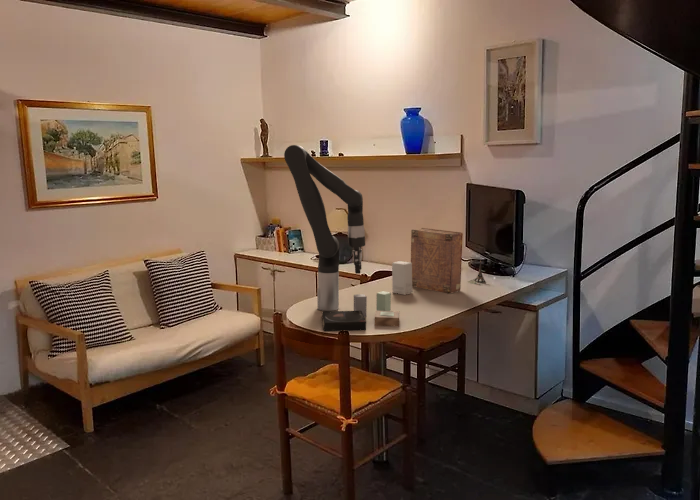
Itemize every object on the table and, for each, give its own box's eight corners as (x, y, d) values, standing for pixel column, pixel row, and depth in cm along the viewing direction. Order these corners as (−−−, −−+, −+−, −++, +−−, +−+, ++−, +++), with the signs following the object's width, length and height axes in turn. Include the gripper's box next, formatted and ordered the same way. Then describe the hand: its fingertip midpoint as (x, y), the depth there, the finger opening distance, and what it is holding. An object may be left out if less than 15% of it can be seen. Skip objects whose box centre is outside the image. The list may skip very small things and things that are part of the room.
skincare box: (412, 293, 301) (413, 262, 299) (404, 295, 296) (405, 264, 294) (399, 290, 307) (399, 260, 304) (391, 292, 302) (391, 262, 299)
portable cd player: (321, 320, 255) (321, 311, 254) (361, 319, 257) (361, 310, 256) (323, 332, 239) (323, 322, 238) (365, 331, 241) (366, 321, 240)
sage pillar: (384, 314, 263) (385, 294, 261) (376, 312, 266) (376, 293, 264) (390, 312, 266) (390, 292, 265) (382, 310, 269) (382, 291, 268)
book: (409, 285, 317) (411, 229, 312) (420, 283, 324) (421, 227, 319) (450, 293, 300) (452, 234, 295) (460, 290, 307) (462, 232, 302)
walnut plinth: (374, 326, 247) (374, 316, 246) (375, 319, 256) (375, 310, 256) (398, 327, 246) (399, 317, 245) (399, 320, 256) (399, 310, 255)
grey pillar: (356, 317, 258) (356, 297, 257) (353, 314, 263) (353, 294, 261) (366, 316, 259) (366, 296, 258) (363, 314, 264) (363, 294, 262)
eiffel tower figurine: (476, 278, 336) (477, 255, 334) (493, 281, 331) (494, 257, 328) (464, 283, 325) (465, 259, 322) (482, 286, 319) (483, 261, 316)
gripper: (349, 233, 273) (351, 268, 275) (346, 238, 259) (348, 275, 261) (365, 232, 272) (367, 268, 275) (364, 237, 258) (366, 274, 261)
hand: (358, 271), depth 268 cm, fingers open, 8 cm apart
